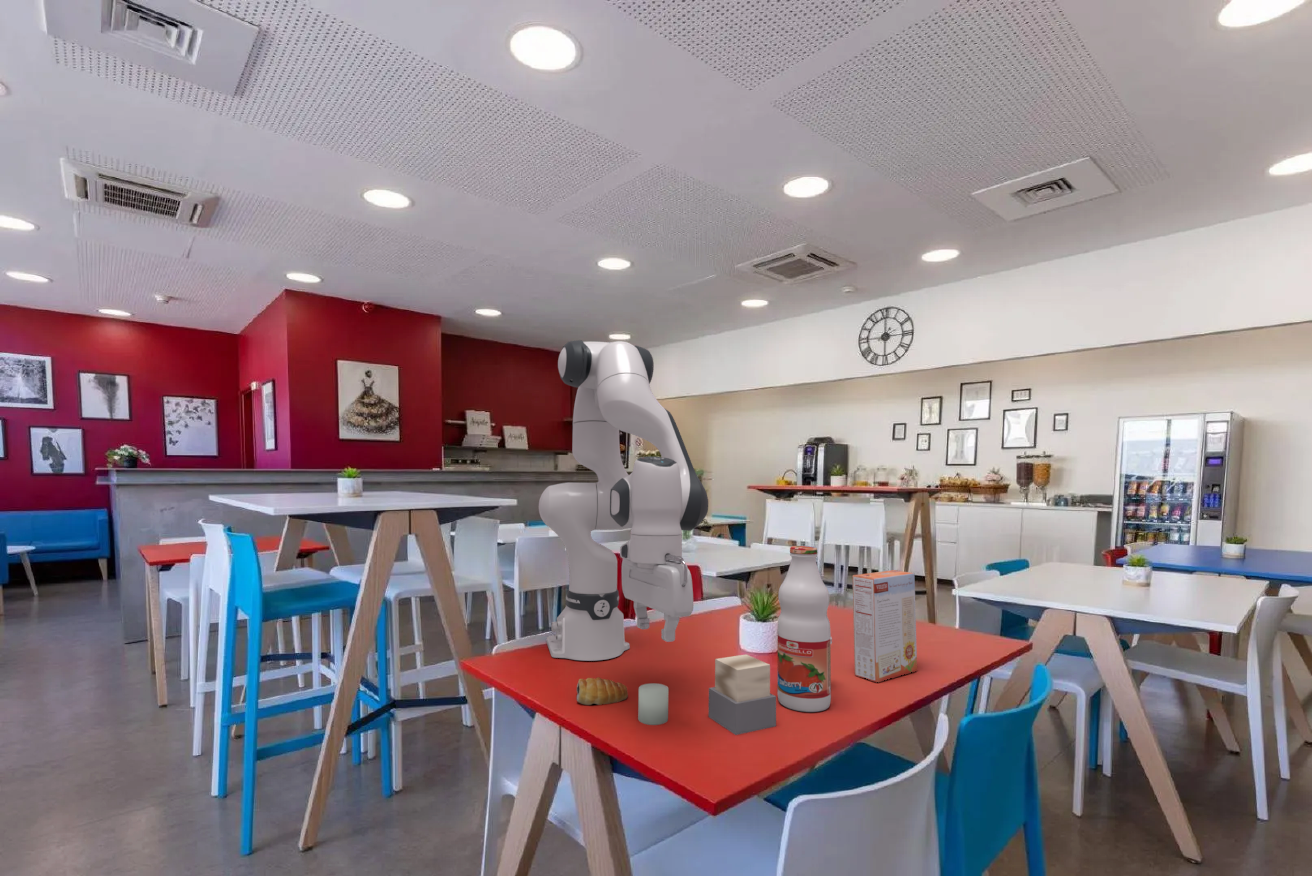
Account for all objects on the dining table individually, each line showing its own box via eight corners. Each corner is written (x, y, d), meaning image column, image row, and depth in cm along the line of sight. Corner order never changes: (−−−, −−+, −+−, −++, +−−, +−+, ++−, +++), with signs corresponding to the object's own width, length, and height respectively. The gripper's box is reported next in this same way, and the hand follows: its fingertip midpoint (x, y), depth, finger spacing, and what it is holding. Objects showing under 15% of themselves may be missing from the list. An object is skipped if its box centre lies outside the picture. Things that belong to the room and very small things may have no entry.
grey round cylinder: (633, 716, 101) (633, 685, 102) (659, 711, 104) (660, 681, 104) (646, 727, 97) (646, 695, 97) (673, 722, 99) (673, 691, 99)
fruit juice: (840, 703, 108) (839, 547, 110) (813, 718, 102) (812, 551, 104) (795, 690, 115) (795, 543, 117) (767, 702, 108) (767, 546, 110)
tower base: (708, 718, 101) (708, 688, 102) (747, 710, 105) (747, 681, 105) (735, 736, 94) (735, 704, 95) (776, 727, 98) (776, 696, 98)
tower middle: (714, 689, 101) (715, 659, 102) (746, 683, 104) (746, 654, 105) (737, 702, 96) (737, 670, 96) (769, 695, 99) (770, 664, 99)
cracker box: (893, 664, 132) (892, 569, 133) (918, 672, 127) (916, 572, 128) (851, 675, 124) (851, 573, 126) (876, 684, 119) (875, 577, 121)
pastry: (624, 691, 113) (624, 671, 114) (630, 705, 107) (630, 683, 107) (574, 695, 111) (575, 674, 112) (577, 708, 105) (578, 686, 105)
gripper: (703, 556, 94) (703, 647, 93) (647, 545, 112) (646, 620, 111) (668, 558, 91) (667, 651, 90) (616, 546, 110) (614, 623, 108)
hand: (655, 634), depth 101 cm, fingers open, 8 cm apart
